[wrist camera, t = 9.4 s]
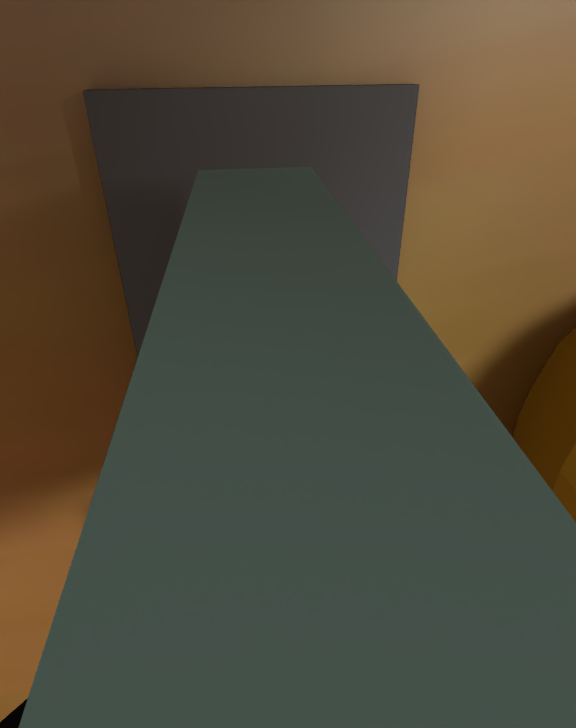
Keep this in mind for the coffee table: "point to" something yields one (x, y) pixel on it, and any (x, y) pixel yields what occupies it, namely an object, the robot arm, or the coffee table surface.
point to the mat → (245, 161)
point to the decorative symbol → (553, 423)
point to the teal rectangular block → (307, 505)
